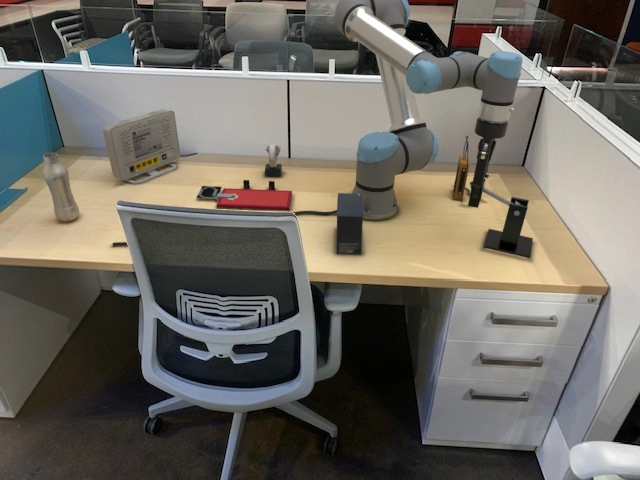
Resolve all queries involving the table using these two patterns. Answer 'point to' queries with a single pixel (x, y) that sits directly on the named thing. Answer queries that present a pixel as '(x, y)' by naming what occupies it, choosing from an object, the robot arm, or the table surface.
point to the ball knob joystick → (497, 196)
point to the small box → (349, 223)
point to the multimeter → (461, 175)
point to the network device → (142, 145)
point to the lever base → (511, 232)
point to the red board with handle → (248, 197)
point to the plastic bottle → (59, 188)
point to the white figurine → (273, 161)
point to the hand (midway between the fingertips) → (474, 202)
